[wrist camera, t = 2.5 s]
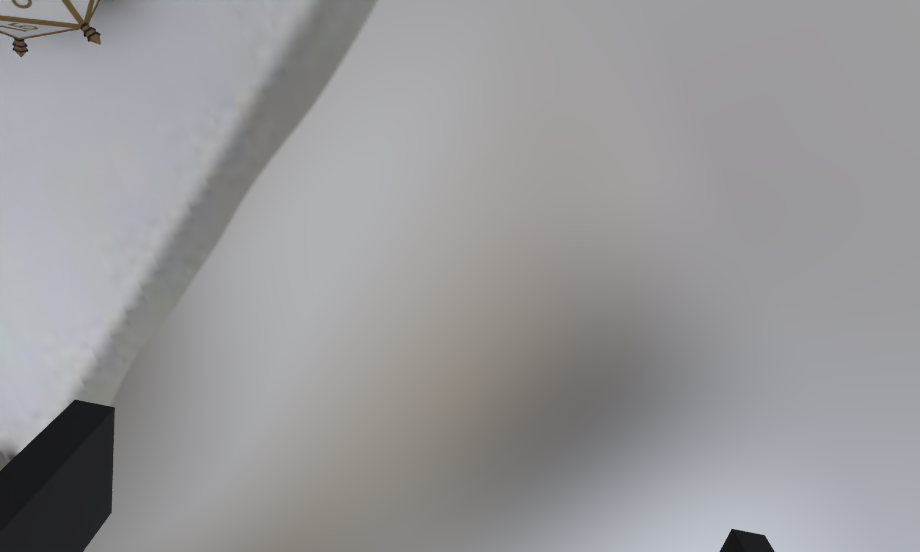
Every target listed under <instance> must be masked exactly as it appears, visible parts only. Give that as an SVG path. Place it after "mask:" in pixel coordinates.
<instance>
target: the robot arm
mask: <svg viewBox="0 0 920 552" xmlns="http://www.w3.org/2000/svg"><path fill="white" fill-rule="evenodd" d="M114 411H115V408H114V407H110V406H104V405H99V404H94V403H89V402H84V401H79V400H74V401H73V402H72V403H71V404H70V405H69V406H68V407H67V408H66V409H65V410H64V411H63V412H62V413H61V414H60V415H59V416H57V417H56V418H55V419H54V420H53V421H52V422H51V423H50V424H49V425H48V426H47V427H46V428H45V429H44V430H43V431H42V432H41V433H40V434H39V435H38V436H36V437H35V438H34V439H33V440H32V441H31V442H30V443H29V444H28V445H27V446H26V447H25V448H24V449H23V450H22V451H21V452H20V453H19V454H18V455H17V456H16V457H14V458H13V459H12V460H11V461H10V462H9V463H8V464H7V465H6V466H5V467H4V468H3V469H2V470H1V471H0V552H83V551H84V549H85V548H86V547H87V545H88V544H89V543H90V541H91V540H92V539H93V537H94V535H95V534H96V533H97V532H98V530H99V529H100V528H101V526H102V525H103V523H104V522H105V521H106V519H107V518H108V516H109V515H110V514H111V510H112V476H113V443H114V413H115V412H114ZM720 552H774V550H773V548H772V547H771V545H770V543H769V542H768V540H767V539H766V537H765V536H764V535H760V534H755V533H750V532H745V531H740V530H734V529H732V530H731V532H730V533H729V535H728V537H727V539H726V541H725V543H724V545H723V547H722V548H721V550H720Z"/></svg>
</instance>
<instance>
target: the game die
mask: <svg viewBox="0 0 920 552" xmlns="http://www.w3.org/2000/svg"><path fill="white" fill-rule="evenodd" d="M99 2H100V0H0V33H2V34H5V35H8V36H10V37H13V38H14V39H15V41H14V42H13V44H12V45H14V48H13V50H14V51H16V53H17V54H18V55H19V56H20V57H22V56H23V55H24V54H25V53H26V52H27V51H28V49H27V48H26V47H27V44H26V43H25V42H24V39H27V38H33V37H38V36H44V35H50V34H55V33H61V32H67V31H72V30H78V29H81V30H83V32H84V37H87V38H88V42H90V41H91V42H94V43H97V44H100V45H101V42H100V33H98V32H96V29H94V28H92V27H90V26H89V22H90V20H91V18H92V16H93V14H94V12H95V10H96V8H97V6H98V4H99Z"/></svg>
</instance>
